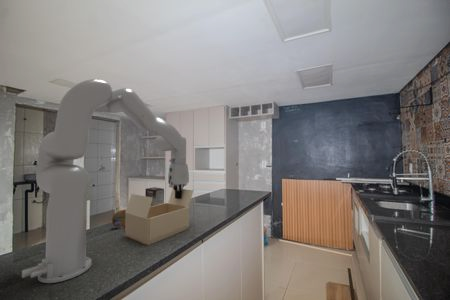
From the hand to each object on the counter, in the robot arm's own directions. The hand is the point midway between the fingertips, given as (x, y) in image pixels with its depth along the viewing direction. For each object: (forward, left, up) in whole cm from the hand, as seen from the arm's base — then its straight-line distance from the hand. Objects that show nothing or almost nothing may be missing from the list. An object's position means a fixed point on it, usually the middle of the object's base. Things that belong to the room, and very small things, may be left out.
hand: (178, 198), depth 100 cm
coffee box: (+2, +21, -13) cm, 25 cm away
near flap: (-21, 0, +1) cm, 21 cm away
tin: (-14, +19, -13) cm, 27 cm away
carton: (-11, 0, -13) cm, 17 cm away
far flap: (+1, 0, +1) cm, 1 cm away
